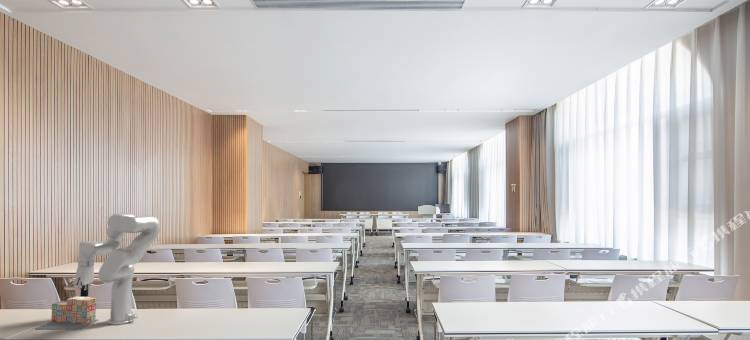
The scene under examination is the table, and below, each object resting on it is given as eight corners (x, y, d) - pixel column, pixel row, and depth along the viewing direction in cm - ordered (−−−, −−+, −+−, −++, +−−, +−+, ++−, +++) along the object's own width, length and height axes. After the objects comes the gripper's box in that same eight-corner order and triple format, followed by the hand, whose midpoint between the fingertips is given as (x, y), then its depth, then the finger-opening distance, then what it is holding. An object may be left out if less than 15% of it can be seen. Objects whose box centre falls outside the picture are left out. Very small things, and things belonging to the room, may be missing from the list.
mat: (98, 320, 243) (98, 319, 243) (79, 329, 227) (79, 328, 227) (56, 320, 242) (56, 319, 242) (35, 329, 226) (35, 328, 226)
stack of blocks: (50, 321, 238) (51, 298, 239) (60, 318, 244) (61, 295, 245) (86, 323, 235) (87, 299, 235) (95, 320, 241) (96, 297, 241)
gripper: (87, 261, 257) (85, 293, 256) (70, 265, 242) (68, 300, 241) (100, 261, 257) (99, 294, 257) (84, 266, 242) (82, 300, 242)
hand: (84, 297), depth 249 cm, fingers closed
